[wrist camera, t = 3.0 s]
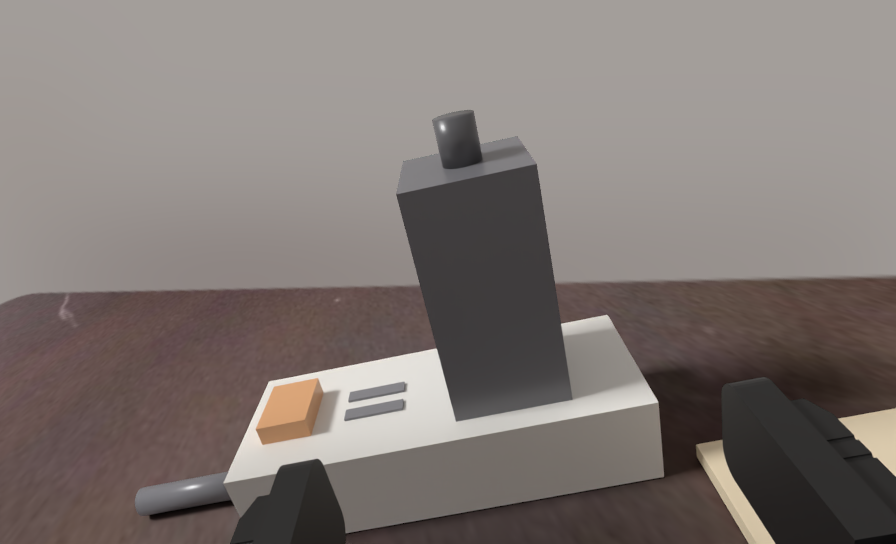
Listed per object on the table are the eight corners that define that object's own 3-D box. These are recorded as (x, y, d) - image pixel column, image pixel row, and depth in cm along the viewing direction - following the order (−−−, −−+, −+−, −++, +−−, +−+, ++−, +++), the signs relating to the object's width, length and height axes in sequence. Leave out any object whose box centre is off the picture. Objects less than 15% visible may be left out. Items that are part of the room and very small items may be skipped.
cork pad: (805, 638, 15) (806, 623, 15) (696, 456, 22) (696, 444, 22) (1156, 583, 15) (1163, 567, 15) (939, 413, 21) (941, 400, 21)
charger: (466, 461, 22) (382, 143, 17) (461, 392, 26) (392, 119, 21) (578, 440, 22) (528, 111, 17) (556, 374, 26) (510, 92, 21)
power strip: (112, 574, 23) (60, 496, 21) (178, 460, 29) (141, 391, 27) (664, 476, 21) (657, 383, 20) (614, 377, 27) (605, 299, 25)
